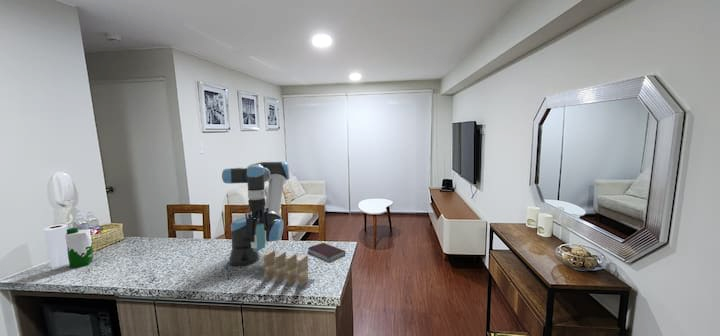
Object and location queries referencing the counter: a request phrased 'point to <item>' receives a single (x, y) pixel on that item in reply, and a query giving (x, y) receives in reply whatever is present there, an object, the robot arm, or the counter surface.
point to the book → (326, 251)
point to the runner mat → (261, 277)
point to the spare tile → (260, 237)
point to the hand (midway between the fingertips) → (258, 245)
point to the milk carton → (79, 247)
